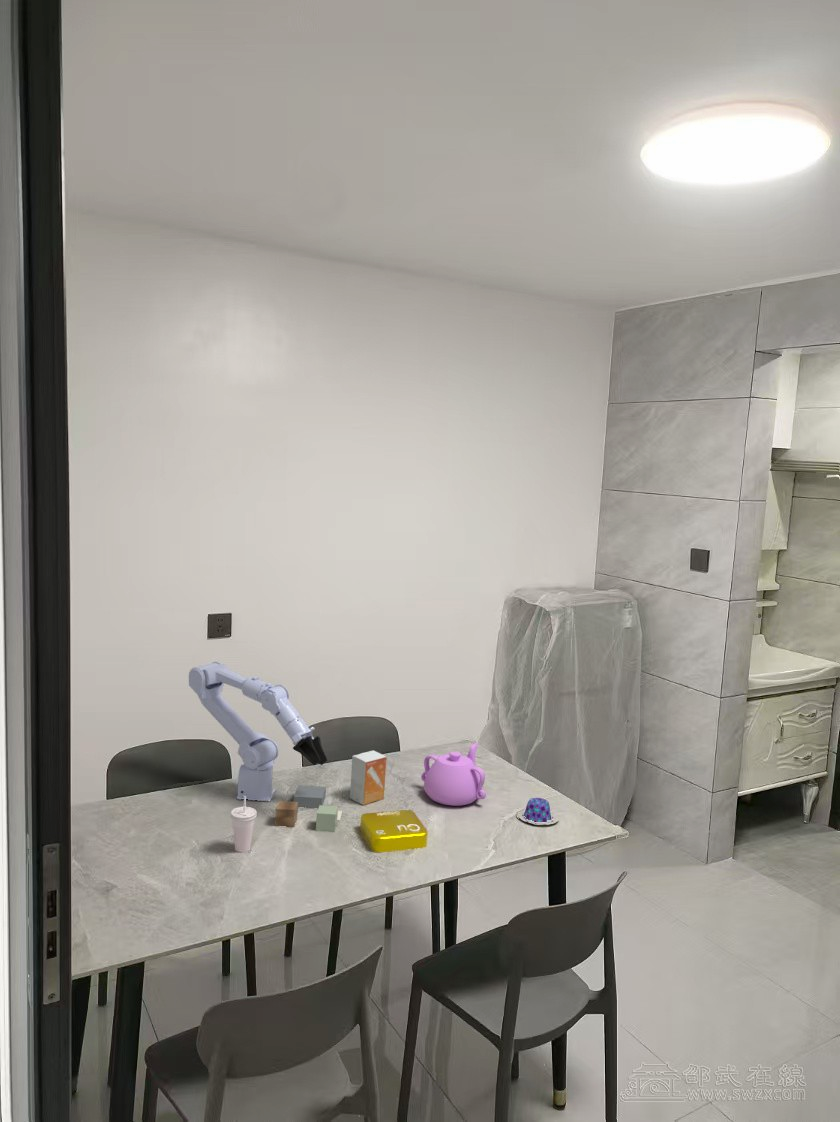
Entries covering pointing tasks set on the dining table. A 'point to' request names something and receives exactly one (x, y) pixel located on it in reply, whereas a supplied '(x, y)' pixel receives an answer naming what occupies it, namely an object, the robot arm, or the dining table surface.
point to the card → (339, 815)
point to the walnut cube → (286, 813)
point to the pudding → (537, 810)
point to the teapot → (454, 778)
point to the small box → (368, 777)
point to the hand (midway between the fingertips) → (320, 762)
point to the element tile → (393, 831)
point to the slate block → (310, 796)
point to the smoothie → (243, 826)
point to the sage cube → (326, 818)
